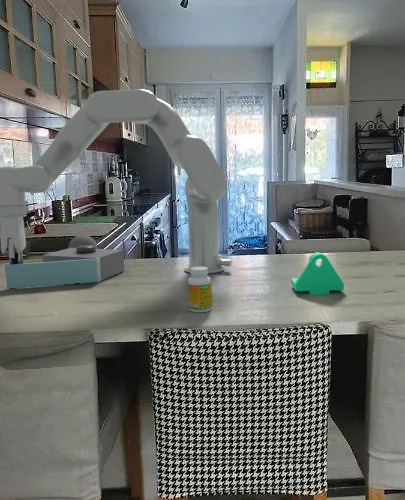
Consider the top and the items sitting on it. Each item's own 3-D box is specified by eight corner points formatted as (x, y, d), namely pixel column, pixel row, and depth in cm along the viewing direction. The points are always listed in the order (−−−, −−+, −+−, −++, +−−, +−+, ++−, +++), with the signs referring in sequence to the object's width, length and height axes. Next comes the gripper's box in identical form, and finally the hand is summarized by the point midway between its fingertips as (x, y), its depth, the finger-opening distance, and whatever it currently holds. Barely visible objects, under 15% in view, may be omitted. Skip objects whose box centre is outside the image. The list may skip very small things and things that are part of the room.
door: (100, 281, 140) (99, 258, 139) (100, 282, 139) (99, 259, 138) (7, 288, 134) (5, 264, 133) (6, 289, 133) (4, 265, 132)
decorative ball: (69, 261, 173) (67, 234, 171) (97, 259, 175) (96, 232, 174) (68, 266, 164) (66, 237, 162) (98, 264, 166) (96, 236, 164)
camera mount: (336, 286, 128) (336, 248, 126) (343, 294, 120) (344, 253, 119) (290, 287, 128) (291, 249, 127) (295, 295, 121) (295, 255, 119)
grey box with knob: (124, 271, 153) (122, 245, 152) (99, 281, 140) (97, 252, 139) (72, 268, 161) (70, 243, 159) (44, 277, 148) (42, 250, 146)
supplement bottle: (201, 314, 106) (200, 271, 105) (183, 310, 110) (182, 268, 108) (216, 308, 110) (215, 267, 109) (199, 304, 114) (197, 264, 112)
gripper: (4, 210, 140) (10, 271, 143) (-10, 214, 126) (-3, 282, 129) (30, 209, 141) (36, 269, 144) (20, 213, 127) (26, 281, 130)
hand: (17, 275), depth 137 cm, fingers closed
